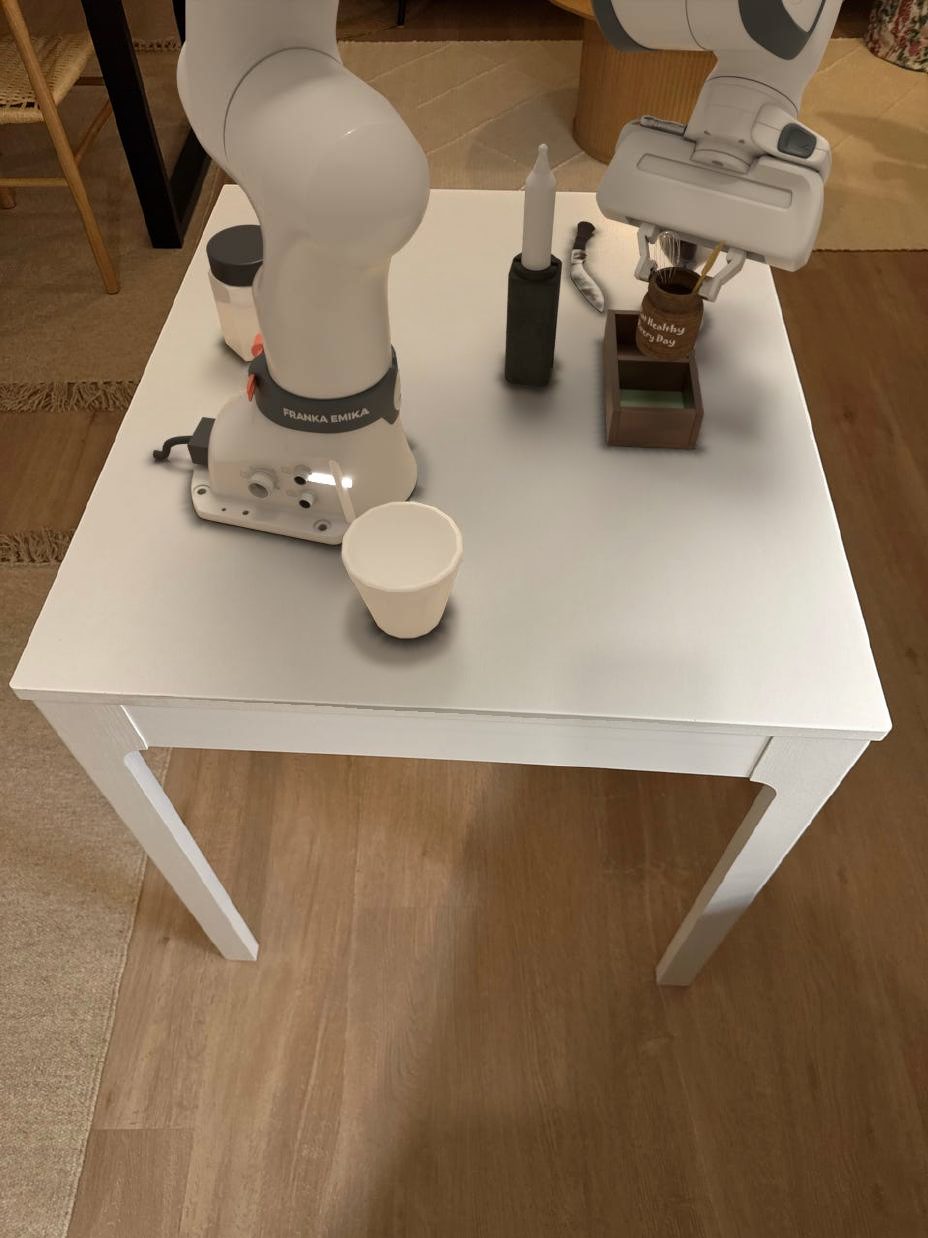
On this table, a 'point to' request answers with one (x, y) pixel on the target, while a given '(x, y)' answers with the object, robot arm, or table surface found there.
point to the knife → (578, 272)
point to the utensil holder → (672, 310)
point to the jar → (236, 283)
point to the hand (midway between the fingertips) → (674, 289)
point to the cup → (403, 565)
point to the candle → (534, 285)
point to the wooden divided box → (647, 391)
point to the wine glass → (685, 254)
